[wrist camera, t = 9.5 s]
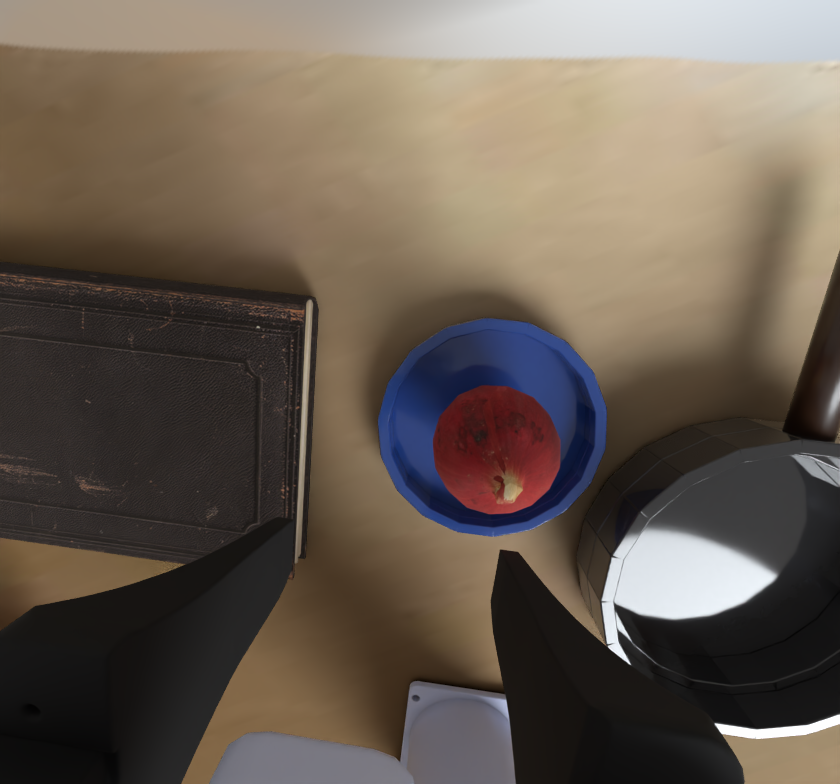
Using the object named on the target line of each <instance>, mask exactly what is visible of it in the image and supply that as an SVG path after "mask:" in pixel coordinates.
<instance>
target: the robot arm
mask: <svg viewBox="0 0 840 784" xmlns="http://www.w3.org/2000/svg"><path fill="white" fill-rule="evenodd" d="M293 536H294V519H289V518H282V517H276V518H274V519H272V520H270V521H268V522H267V523H265V524H263V525H261V526H260V527H258V528H256V529H254V530H253V531H251V532H249V533H247V534H246V535H244V536H242V537H240V538H238V539H237V540H235V541H233V542H231V543H229V544H227V545H225V546H224V547H222V548H220V549H218V550H216V551H214V552H212V553H210V554H208V555H206V556H204V557H202V558H199V559H197V560H195V561H193V562H191V563H188V564H186V565H183V566H181V567H179V568H176V569H174V570H171V571H169V572H166V573H163V574H160V575H157V576H154V577H151V578H148V579H145V580H143V581H140V582H137V583H134V584H130V585H127V586H123V587H120V588H116V589H113V590H109V591H105V592H101V593H97V594H93V595H89V596H85V597H80V598H75V599H70V600H65V601H60V602H55V603H50V604H44V605H38V606H35V607H33V608H32V609H30V610H29V611H28V612H26V613H25V614H23V615H22V616H21V617H19V618H18V619H16V620H15V621H14V622H12V623H11V624H9V625H8V626H7V627H5V628H4V629H2V630H1V631H0V784H181V783H182V780H183V778H184V776H185V774H186V771H187V769H188V767H189V765H190V763H191V760H192V758H193V756H194V754H195V752H196V749H197V747H198V745H199V743H200V741H201V739H202V737H203V735H204V733H205V730H206V728H207V726H208V724H209V722H210V720H211V718H212V716H213V714H214V712H215V709H216V707H217V705H218V703H219V701H220V699H221V697H222V695H223V693H224V691H225V689H226V687H227V685H228V683H229V681H230V679H231V677H232V675H233V673H234V672H235V670H236V668H237V666H238V665H239V663H240V661H241V659H242V658H243V656H244V655H245V653H246V651H247V650H248V648H249V646H250V645H251V643H252V642H253V640H254V638H255V637H256V635H257V634H258V632H259V630H260V629H261V627H262V625H263V624H264V622H265V621H266V619H267V617H268V616H269V614H270V612H271V611H272V609H273V607H274V606H275V604H276V602H277V601H278V599H279V597H280V595H281V593H282V591H283V589H284V587H285V584H286V582H287V580H288V578H289V575H290V573H291V571H292V554H293ZM491 612H492V625H493V634H494V640H495V645H496V650H497V656H498V661H499V666H500V671H501V676H502V681H503V686H504V691H505V694H500V693H494V692H487V691H481V690H474V689H468V688H461V687H454V686H448V685H441V684H435V683H428V682H422V681H414V682H412V683H411V684H410V687H409V695H408V703H407V711H406V719H405V727H404V735H403V743H402V751H401V759H400V762H399V761H398V760H397V759H396V758H395V757H394V756H391V755H388V754H386V753H383V752H381V751H378V750H376V749H372V748H366V747H360V746H354V745H348V744H342V743H336V742H330V741H325V740H319V739H313V738H307V737H301V736H295V735H289V734H283V733H278V732H272V731H271V732H250V733H247V734H245V735H243V736H242V737H240V738H238V739H237V740H235V741H234V742H232V743H230V744H229V745H228V747H227V749H226V751H225V753H224V755H223V757H222V759H221V761H220V763H219V765H218V767H217V769H216V771H215V773H214V775H213V777H212V779H211V781H210V783H209V784H744V782H745V781H744V775H743V768H742V766H741V765H740V763H739V761H738V759H737V757H736V755H735V754H734V752H733V751H732V749H731V748H730V746H729V745H728V743H727V742H726V740H725V738H724V737H723V735H722V734H721V732H720V731H719V729H718V728H717V726H716V725H715V723H714V722H713V720H712V719H711V718H710V716H709V715H708V713H706V712H704V711H702V710H701V709H699V708H697V707H696V706H694V705H692V704H690V703H689V702H687V701H685V700H684V699H682V698H680V697H679V696H677V695H675V694H673V693H672V692H670V691H668V690H667V689H665V688H664V687H662V686H660V685H659V684H657V683H656V682H654V681H653V680H651V679H650V678H648V677H647V676H646V675H644V674H643V673H641V672H640V671H638V670H637V669H635V668H634V667H633V666H631V665H630V664H629V663H627V662H626V661H625V660H623V659H622V658H621V657H619V656H618V655H617V654H616V653H614V652H613V651H612V650H610V649H609V648H608V647H607V646H605V645H604V644H603V643H602V642H601V641H599V640H598V639H597V638H596V637H595V636H594V635H593V634H592V633H590V632H589V631H588V630H587V629H586V628H585V627H584V626H583V625H582V624H581V623H580V622H579V621H577V620H576V619H575V618H574V617H573V616H572V615H571V614H570V612H569V611H568V610H567V609H566V608H565V607H564V606H563V605H562V604H561V603H560V602H559V601H558V600H557V599H556V598H555V596H554V595H553V594H552V593H551V592H550V591H549V590H548V588H547V587H546V586H545V585H544V584H543V582H542V581H541V580H540V579H539V578H538V576H537V575H536V574H535V573H534V571H533V570H532V569H531V568H530V566H529V565H528V564H527V562H526V561H525V560H524V559H523V557H522V556H521V555H520V554H519V553H518V552H514V551H507V550H501V549H500V553H499V559H498V564H497V570H496V575H495V581H494V586H493V592H492V597H491ZM415 695H417V696H415Z"/></svg>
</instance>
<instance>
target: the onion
mask: <svg viewBox="0 0 840 784" xmlns="http://www.w3.org/2000/svg"><path fill="white" fill-rule="evenodd" d="M433 452H434V462H435V468H436V470H437V472H438V474H439V476H440V477H441V479H442V481H443V483H444V485H445V486H446V488H447V489H448V491H449V492H450V493H451V494H452V495H453V496H454V497H456V498H457V499H458V500H459V501H460V502H461V503H462V504H463V505H465V506H466V507H467V508H470V509H473V510H477V511H480V512H483V513H487V514H505V513H513V512H516V511H518V510H521V509H524V508H526V507H529V506H531V505H533V504H534V503H535V502H536V501H537V500H538V499H539V498H540V497H541V496H542V495H544V494H545V493H546V492H547V491H548V490H549V489H550V487H551V485H552V483H553V481H554V479H555V477H556V475H557V473H558V471H559V468H560V438H559V435H558V433H557V431H556V428H555V426H554V424H553V421H552V419H551V417H550V415H549V414H548V412H547V411H546V410H545V409H544V408H543V407H542V406H541V405H540V404H539V403H538V402H537V401H536V400H535V398H534V397H532V396H529V395H527V394H525V393H522V392H520V391H518V390H515V389H513V388H511V387H508V386H490V385H481V386H479V387H476V388H474V389H472V390H469V391H467V392H464V393H462V394H460V395H458V396H457V397H456V398H455V400H454V401H453V402H452V403H451V404H450V405H449V406H448V407H447V409H446V410H445V411H444V412H443V413H442V414H441V415H440V416H439V419H438V423H437V426H436V430H435V433H434V437H433Z"/></svg>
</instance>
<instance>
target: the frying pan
mask: <svg viewBox="0 0 840 784" xmlns="http://www.w3.org/2000/svg"><path fill="white" fill-rule="evenodd" d="M784 423H785V422H777V421H768V420H760V419H751V418H741V417H739V418H733V419H727V420H721V421H715V422H709V423H704V424H698V425H692V426H689V427H686V428H684V429H682V430H680V431H678V432H676V433H674V434H671V435H669V436H667V437H665V438H663V439H661V440H659V441H657V442H655V443H652V444H650V445H648V446H646V447H644V448H643V449H642V450H641V451H639V452H638V453H637V454H636V455H635V456H634V457H633V458H631V459H630V460H629V461H628V462H627V463H626V464H625V465H624V466H622V467H621V468H620V469H619V470H618V471H617V472H616V473H614V474H613V475H612V476H611V477H610V478H609V480H607V482H606V483H605V485H604V487H603V488H602V490H601V491H600V493H599V495H598V496H597V498H596V500H595V501H594V503H593V505H592V506H591V508H590V509H589V511H588V513H587V514H586V517H585V519H584V524H583V528H582V533H581V537H580V542H579V546H578V551H577V557H576V559H577V566H578V573H579V580H580V586H581V593H582V596H583V598H584V601H585V603H586V605H587V607H588V609H589V611H590V613H591V615H592V617H593V619H594V621H595V623H596V625H597V628H598V630H599V632H600V634H601V636H602V638H603V640H604V642H605V644H606V646H607V647H608V648H609V649H610V650H612V651H613V652H614V653H616V654H617V655H618V656H619V657H621V658H622V659H623V660H625V661H626V662H627V663H629V664H630V665H631V666H633V667H634V668H635V669H637V670H638V671H640V672H641V673H643V674H644V675H646V676H647V677H648V678H650V679H651V680H653V681H654V682H656V683H657V684H659V685H660V686H662V687H664V688H665V689H667V690H668V691H670V692H672V693H673V694H675V695H677V696H679V697H680V698H682V699H684V700H685V701H687V702H689V703H690V704H692V705H694V706H696V707H697V708H699V709H701V710H702V711H704V712H706V713H708V715H709V716H710V718H711V719H712V720H713V722H714V723H715V725H716V726H717V728H718V729H719V731H720V732H721V734H726V735H732V736H739V737H745V738H752V739H762V738H774V737H786V736H797V735H807V734H811V733H814V732H817V731H820V730H823V729H826V728H829V727H832V726H835V725H838V724H840V439H838V438H836V440H835V441H826V440H819V439H814V438H809V437H804V436H800V435H797V434H793V433H790V432H787V431H785V430H783V426H784Z"/></svg>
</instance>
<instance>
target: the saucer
mask: <svg viewBox="0 0 840 784" xmlns="http://www.w3.org/2000/svg"><path fill="white" fill-rule="evenodd" d="M481 385H490V386H508V387H511V388H513V389H515V390H518V391H520V392H522V393H525V394H527V395H529V396H532V397H534V398H535V400H536V401H537V402H538V403H539V404H540V405H541V406H542V407H543V408H544V409H545V410H546V411H547V412H548V414H549V415H550V417H551V419H552V421H553V424H554V426H555V428H556V431H557V433H558V435H559V438H560V468H559V471H558V473H557V475H556V477H555V479H554V481H553V483H552V485H551V487H550V489H549V490H548V491H547V492H546V493H545V494H544V495H542V496H541V497H540V498H539V499H538V500H537V501H536V502H535V503H534V504H533V505H531V506H529V507H526V508H524V509H521V510H518V511H516V512H513V513H505V514H487V513H483V512H480V511H477V510H473V509H470V508H467V507H466V506H465V505H463V504H462V503H461V502H460V501H459V500H458V499H457V498H456V497H454V496H453V495H452V494H451V493H450V492H449V491H448V489H447V488H446V486H445V485H444V483H443V481H442V479H441V477H440V476H439V474H438V472H437V470H436V468H435V462H434V452H433V437H434V433H435V430H436V426H437V423H438V419H439V416H440V415H441V414H442V413H443V412H444V411H445V410H446V409H447V407H448V406H449V405H450V404H451V403H452V402H453V401H454V400H455V398H456V397H457V396H458V395H460V394H462V393H464V392H467V391H469V390H472V389H474V388H476V387H479V386H481ZM606 424H607V407H606V405H605V402H604V399H603V396H602V394H601V391H600V388H599V385H598V383H597V380H596V377H595V374H594V372H593V371H592V370H591V368H590V367H589V366H588V365H587V364H586V363H585V362H584V361H583V359H582V358H581V357H580V356H579V355H578V354H577V353H576V352H575V351H574V349H573V348H572V347H571V346H570V345H569V344H568V343H567V342H566V341H565V340H563V339H561V338H559V337H557V336H555V335H553V334H551V333H549V332H547V331H545V330H543V329H541V328H539V327H537V326H535V325H533V324H531V323H528V322H522V321H513V320H504V319H495V318H486V317H485V318H479V319H475V320H471V321H467V322H462V323H459V324H454V325H450V326H447V327H444V328H443V329H441V330H440V331H438V332H437V333H435V334H434V335H432V336H431V337H429V338H428V339H426V340H425V341H423V342H422V343H420V344H419V345H417V346H416V347H414V349H412V350H411V352H410V353H409V354H408V356H407V357H406V358H405V360H404V361H403V363H402V364H401V365H400V367H399V368H398V369H397V371H396V372H395V374H394V375H393V376H392V378H391V379H390V380H389V382H388V384H387V387H386V391H385V395H384V398H383V402H382V405H381V409H380V413H379V416H378V430H379V441H380V452H381V456H382V457H381V458H382V460H383V462H384V464H385V466H386V468H387V470H388V473H389V475H390V477H391V479H392V481H393V483H394V485H395V487H396V489H397V491H398V492H399V493H400V494H401V495H402V496H403V497H404V498H405V499H406V500H407V501H408V502H409V503H410V504H411V505H412V506H414V507H415V508H416V509H417V510H418V511H419V512H420V513H421V514H422V515H423V516H425V517H427V518H429V519H431V520H433V521H435V522H437V523H439V524H441V525H443V526H445V527H447V528H449V529H452V530H454V531H457V532H461V533H469V534H476V535H483V536H491V537H493V536H494V537H495V536H501V535H507V534H512V533H518V532H523V531H529V530H530V529H531V530H532V529H534V528H536V527H538V526H540V525H541V524H543V523H545V522H547V521H549V520H551V519H553V518H554V517H556V516H558V515H560V514H562V513H564V511H566V510H567V509H568V508H569V507H570V506H571V505H572V503H573V502H574V501H575V500H576V499H577V498H578V497H579V496H580V495H581V494H582V493H583V492H584V491H585V489H586V488H587V487H588V486H589V485H590V483H591V482H592V480H593V478H594V475H595V473H596V470H597V468H598V466H599V463H600V461H601V459H602V456H603V454H604V451H605V448H606Z"/></svg>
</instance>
